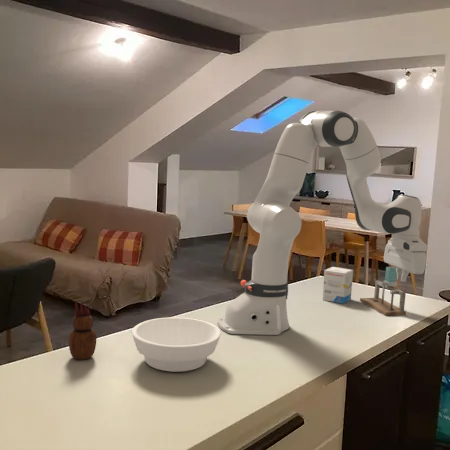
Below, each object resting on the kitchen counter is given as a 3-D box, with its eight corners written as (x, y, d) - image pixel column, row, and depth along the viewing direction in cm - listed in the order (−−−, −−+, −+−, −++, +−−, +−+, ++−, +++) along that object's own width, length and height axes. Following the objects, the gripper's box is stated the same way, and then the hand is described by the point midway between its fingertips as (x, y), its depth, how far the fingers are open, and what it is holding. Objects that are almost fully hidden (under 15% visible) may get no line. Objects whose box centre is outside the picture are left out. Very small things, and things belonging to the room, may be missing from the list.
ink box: (351, 299, 206) (354, 269, 204) (343, 304, 199) (346, 273, 197) (330, 295, 210) (332, 265, 209) (321, 299, 203) (324, 269, 202)
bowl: (123, 350, 144) (124, 319, 143) (203, 343, 152) (204, 314, 151) (141, 385, 123) (142, 350, 122) (232, 375, 131) (234, 342, 130)
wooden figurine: (68, 362, 134) (68, 304, 132) (68, 354, 140) (69, 297, 138) (96, 361, 136) (97, 303, 134) (95, 352, 141) (96, 296, 139)
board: (385, 315, 186) (387, 293, 185) (359, 301, 204) (361, 280, 203) (405, 315, 188) (407, 292, 187) (378, 300, 206) (380, 280, 205)
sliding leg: (382, 304, 194) (386, 268, 192) (378, 302, 197) (381, 266, 195) (395, 304, 196) (398, 268, 194) (390, 302, 198) (393, 266, 197)
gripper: (381, 236, 196) (377, 274, 198) (414, 247, 176) (410, 288, 178) (396, 237, 198) (393, 274, 199) (430, 247, 178) (426, 288, 180)
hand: (401, 281), depth 189 cm, fingers closed
